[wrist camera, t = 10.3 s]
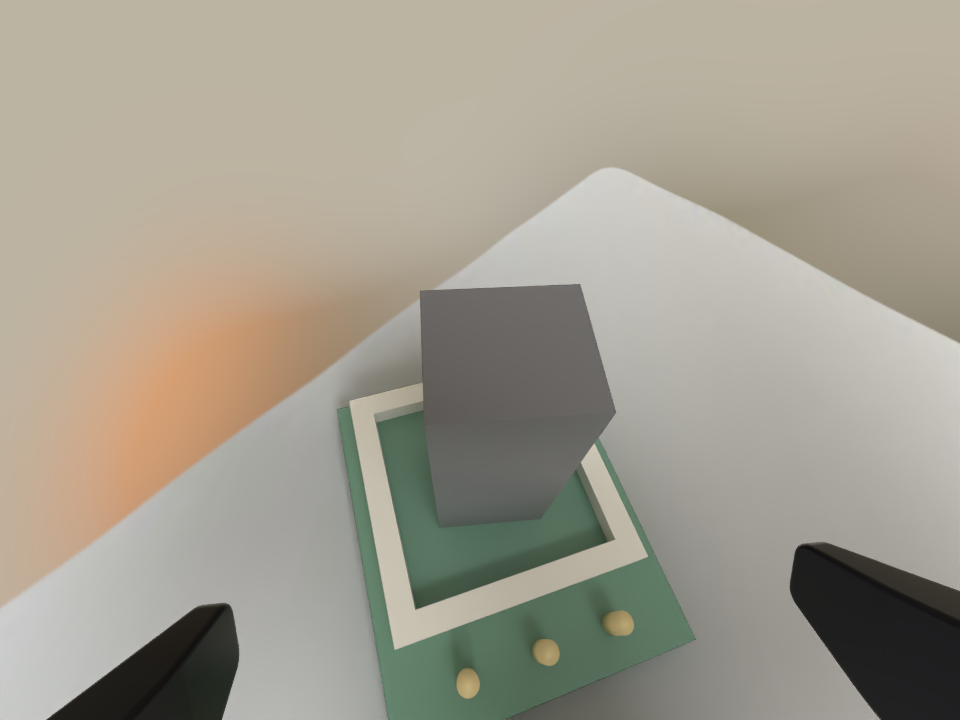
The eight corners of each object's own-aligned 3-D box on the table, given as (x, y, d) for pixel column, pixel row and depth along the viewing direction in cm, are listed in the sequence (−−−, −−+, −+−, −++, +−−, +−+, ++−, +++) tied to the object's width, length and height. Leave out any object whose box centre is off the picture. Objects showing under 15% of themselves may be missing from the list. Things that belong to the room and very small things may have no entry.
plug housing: (540, 519, 20) (615, 412, 10) (439, 527, 19) (423, 425, 10) (527, 434, 22) (580, 284, 13) (435, 441, 22) (420, 291, 12)
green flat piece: (684, 639, 18) (714, 639, 16) (398, 758, 16) (390, 776, 14) (554, 363, 25) (563, 338, 23) (341, 417, 23) (329, 395, 21)
